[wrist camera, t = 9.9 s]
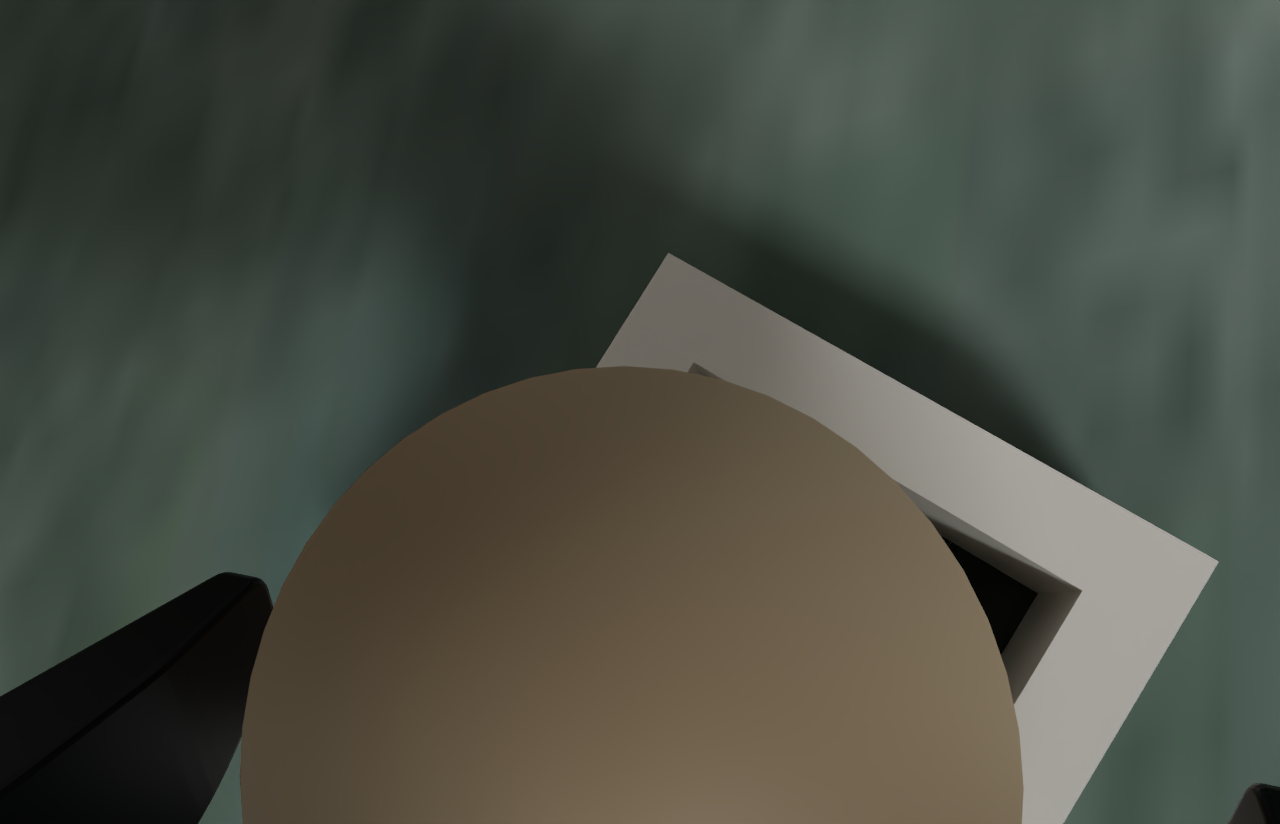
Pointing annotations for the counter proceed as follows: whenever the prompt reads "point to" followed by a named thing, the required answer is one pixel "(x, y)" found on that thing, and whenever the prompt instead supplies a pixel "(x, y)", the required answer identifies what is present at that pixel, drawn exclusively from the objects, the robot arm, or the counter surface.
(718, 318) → the socket
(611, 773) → the peg
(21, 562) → the counter surface
